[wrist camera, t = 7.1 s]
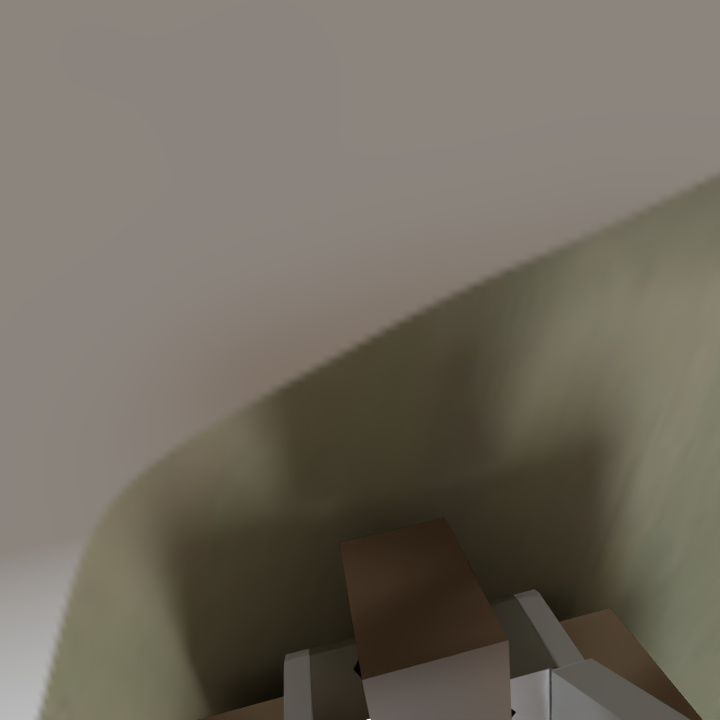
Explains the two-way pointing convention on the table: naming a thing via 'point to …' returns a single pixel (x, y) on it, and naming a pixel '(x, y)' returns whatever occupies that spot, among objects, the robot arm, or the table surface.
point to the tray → (450, 635)
